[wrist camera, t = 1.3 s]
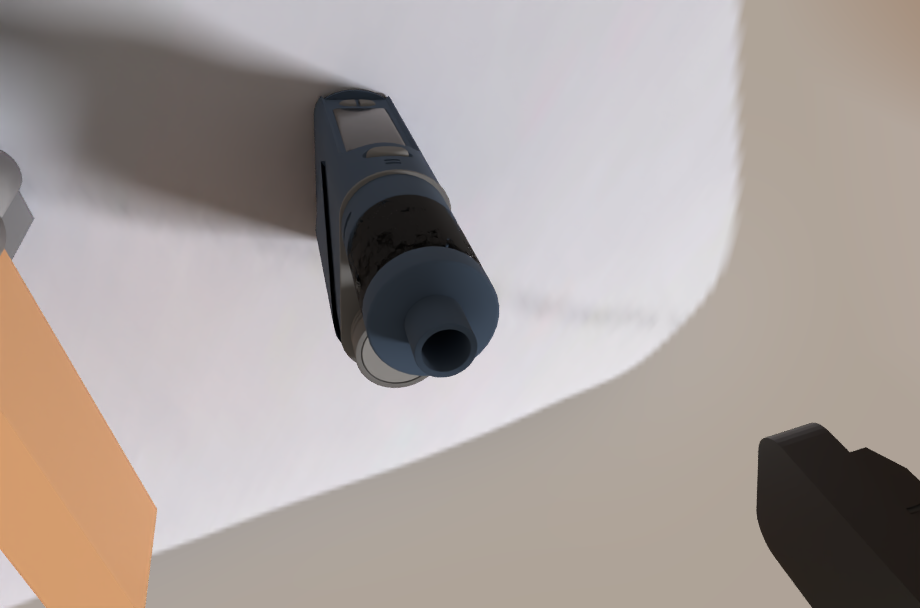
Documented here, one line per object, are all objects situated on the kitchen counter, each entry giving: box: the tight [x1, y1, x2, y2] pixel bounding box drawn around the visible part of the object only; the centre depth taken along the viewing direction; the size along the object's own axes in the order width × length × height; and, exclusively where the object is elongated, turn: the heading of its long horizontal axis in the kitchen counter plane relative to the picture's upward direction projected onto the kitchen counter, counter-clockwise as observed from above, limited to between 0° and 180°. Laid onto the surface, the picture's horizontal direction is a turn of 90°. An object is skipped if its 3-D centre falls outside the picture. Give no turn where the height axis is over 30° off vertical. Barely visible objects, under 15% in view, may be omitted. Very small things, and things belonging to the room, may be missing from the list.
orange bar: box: [0, 216, 157, 608], centre depth 19 cm, size 11×2×4 cm, turn 11°
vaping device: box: [314, 90, 499, 388], centre depth 18 cm, size 3×5×12 cm, turn 176°
